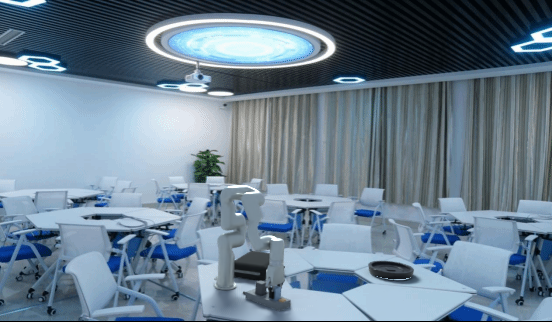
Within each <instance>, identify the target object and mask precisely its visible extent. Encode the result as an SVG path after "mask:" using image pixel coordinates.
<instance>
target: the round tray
mask: <svg viewBox="0 0 552 322" xmlns="http://www.w3.org/2000/svg"><path fill="white" fill-rule="evenodd" d="M368 271H369V273H370V274H371V275H372V274H373V275H375V276H374V277H376V276H378V277H382V278H388V279H406V278H410V277H411V278H412V277H413V276H414V272H415V269H414V267H412V266H410V265H408V264H405V263H402V262H398V261H391V260H374V261H370V262H369V263H368ZM373 275H372V276H373ZM378 277H377V278H378ZM382 278H381V279H382ZM411 278H410V279H411Z"/></svg>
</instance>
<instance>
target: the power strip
mask: <svg viewBox="0 0 552 322" xmlns="http://www.w3.org/2000/svg"><path fill="white" fill-rule="evenodd" d="M242 294H243V295H245V299H246V300H248V301H252V302H254V303H257V304H260V305H262V306H265V307H267V308H270V309H272V310H275V311H278V312H281V311H283V310H286V309H288V308H290V307H291V299H289V298H287V297H283V296H281V299H279V300H278V301H274V300H271V299H269V292H268V288H267V287H266V281H265V280H264V281H257V280H256V281H255V288H253V289H250V290H248V291H242Z"/></svg>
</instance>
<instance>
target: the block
mask: <svg viewBox="0 0 552 322" xmlns="http://www.w3.org/2000/svg"><path fill="white" fill-rule="evenodd" d="M271 288H272V286H271ZM281 297H282V289H281V287H279V286H276V285H275V287H274V299H271V298H269V299H271V300H274V301H278V300H279V299H281Z"/></svg>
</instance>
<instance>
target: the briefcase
mask: <svg viewBox="0 0 552 322" xmlns="http://www.w3.org/2000/svg"><path fill="white" fill-rule="evenodd" d="M269 256H270V252H265V251H261V252H257V251H255V250H250V251H248V252H246V253H244V254H243V255H241V256H240V257H238V258H237V259H236V258H235V265H234V278H238V279H244V280H245V279H246V280H251V281H252V280H253V281H257V280H258V281H264V282H265V281H266V270H267V269H268V265H269ZM284 269H286V266H285V265H284Z"/></svg>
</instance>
